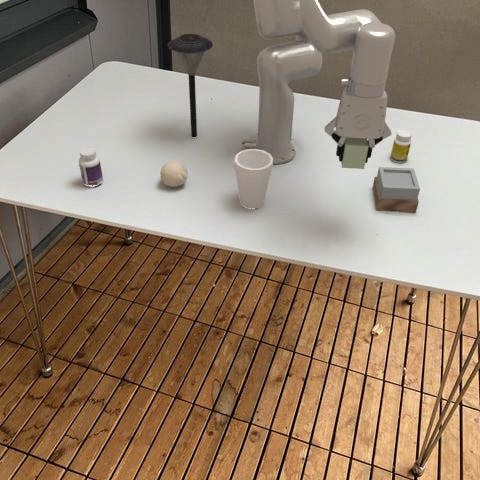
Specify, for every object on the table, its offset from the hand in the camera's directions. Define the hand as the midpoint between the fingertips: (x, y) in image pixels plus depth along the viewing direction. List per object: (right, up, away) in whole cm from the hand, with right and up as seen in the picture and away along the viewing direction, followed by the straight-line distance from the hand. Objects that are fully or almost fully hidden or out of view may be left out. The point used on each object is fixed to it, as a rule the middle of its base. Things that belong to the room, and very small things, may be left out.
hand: (352, 158), depth 131 cm
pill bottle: (-65, -3, +23) cm, 69 cm away
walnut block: (+14, -9, +19) cm, 25 cm away
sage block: (0, -1, +1) cm, 1 cm away
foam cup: (-23, -9, +17) cm, 30 cm away
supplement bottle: (+20, +4, +34) cm, 39 cm away
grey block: (+14, -6, +16) cm, 22 cm away
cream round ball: (-43, -4, +22) cm, 49 cm away
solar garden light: (-40, +12, +41) cm, 59 cm away
